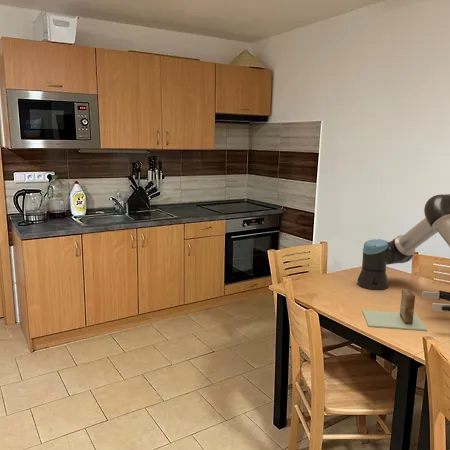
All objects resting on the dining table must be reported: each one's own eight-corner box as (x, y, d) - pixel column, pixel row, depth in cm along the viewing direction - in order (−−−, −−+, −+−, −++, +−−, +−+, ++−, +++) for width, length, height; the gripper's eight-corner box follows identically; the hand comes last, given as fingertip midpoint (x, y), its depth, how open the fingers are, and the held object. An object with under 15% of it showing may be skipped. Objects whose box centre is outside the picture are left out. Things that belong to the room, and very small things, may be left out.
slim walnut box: (404, 323, 170) (406, 295, 167) (399, 316, 177) (401, 288, 175) (412, 324, 169) (415, 295, 167) (407, 316, 177) (409, 289, 175)
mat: (368, 326, 168) (368, 325, 168) (362, 311, 184) (362, 310, 183) (427, 331, 165) (427, 329, 164) (415, 315, 180) (415, 313, 180)
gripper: (497, 326, 155) (435, 321, 159) (470, 301, 179) (417, 298, 183) (500, 306, 154) (437, 302, 157) (473, 285, 178) (419, 281, 181)
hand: (427, 300), depth 170 cm, fingers open, 13 cm apart
